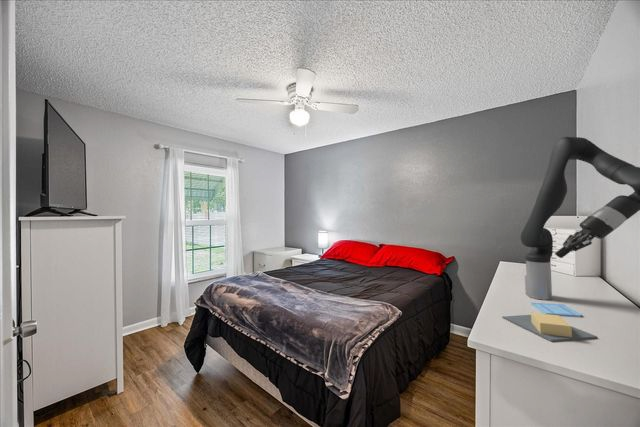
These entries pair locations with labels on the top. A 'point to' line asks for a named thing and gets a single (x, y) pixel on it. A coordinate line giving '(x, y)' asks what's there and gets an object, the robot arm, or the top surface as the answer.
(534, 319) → the yellow block
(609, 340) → the top surface
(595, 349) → the top surface
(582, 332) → the mat
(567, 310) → the light blue flat slab
